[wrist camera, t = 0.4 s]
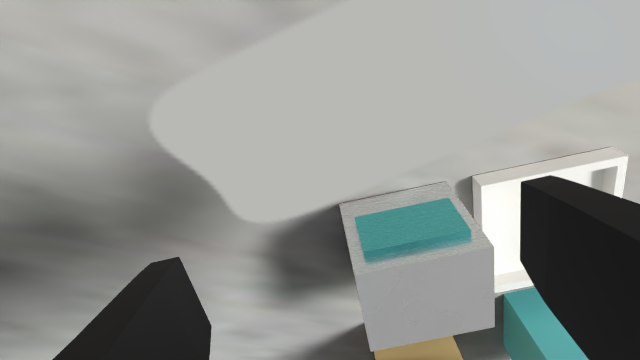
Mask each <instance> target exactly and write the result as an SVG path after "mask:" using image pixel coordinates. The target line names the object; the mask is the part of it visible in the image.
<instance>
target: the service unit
mask: <svg viewBox="0 0 640 360" xmlns="http://www.w3.org/2000/svg"><path fill="white" fill-rule="evenodd" d="M339 206H340V211H341V216H342V220H343V225H344V230H345V235H346V239H347V244H348V249H349V254H350V258H351V263H352V268H353V273H354V277H355V282H356V287H357V291H358V296H359V301H360V305H361V310H362V315H363V319H364V324H365V329H366V333H367V338H368V343H369V347H370V352H372V351H377V350H382V349H387V348H392V347H397V346H402V345H407V344H412V343H417V342H422V341H427V340H432V339H437V338H442V337H447V336H453V335H458V334H463V333H468V332H473V331H478V330H483V329H488V328H493V327H495V288H494V246H493V244H492V243H491V242H490V240H489V239H488V238H487V236H486V235H485V234H484V232H483V231H482V229H481V228H480V227H479V225H478V224H477V223H476V221H475V220H474V219H473V217H472V216H471V214H470V213H469V212H468V210H467V209H466V208H465V206H464V205H463V204H462V202H461V201H460V199H459V198H458V197H457V195H456V194H455V193H454V191H453V190H452V189H451V187H450V186H449V184H448V183H447V182H441V183H436V184H432V185H427V186H422V187H417V188H413V189H408V190H403V191H398V192H393V193H389V194H384V195H379V196H374V197H370V198H365V199H360V200H355V201H350V202H346V203H341V204H339Z"/></svg>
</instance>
